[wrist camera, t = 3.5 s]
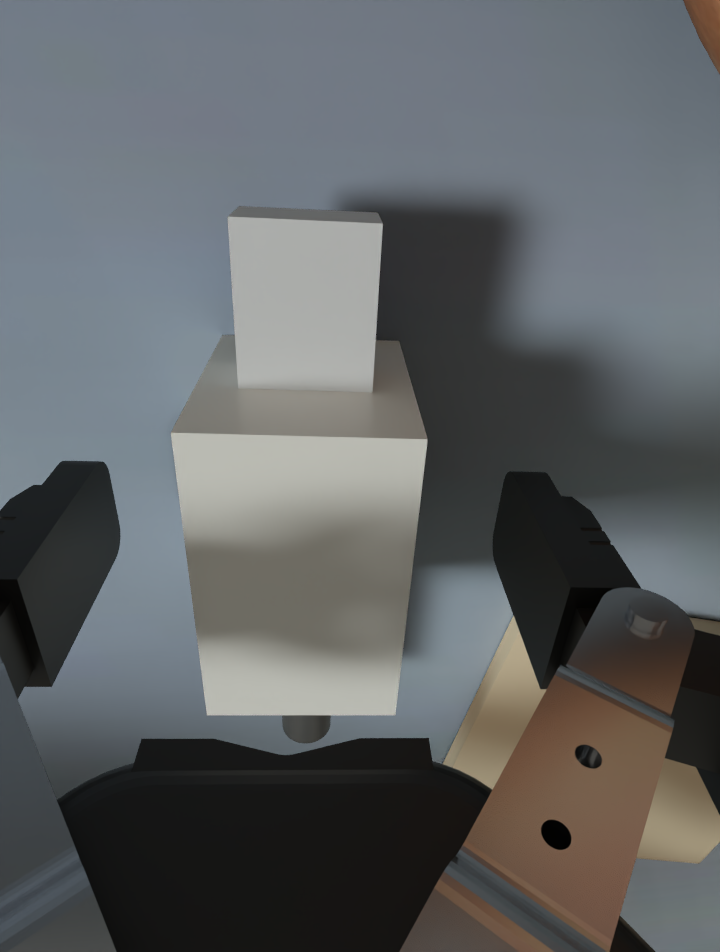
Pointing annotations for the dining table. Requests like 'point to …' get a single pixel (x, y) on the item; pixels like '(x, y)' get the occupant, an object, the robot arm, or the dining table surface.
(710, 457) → the dining table surface
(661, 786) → the coaster
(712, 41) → the ceramic jug
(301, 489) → the connector
